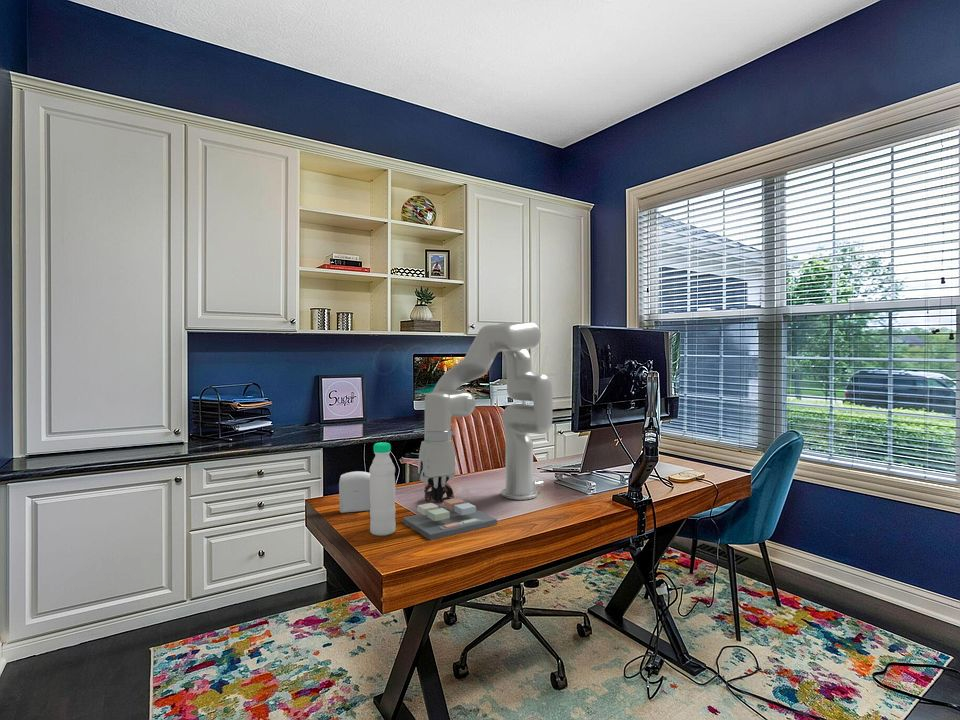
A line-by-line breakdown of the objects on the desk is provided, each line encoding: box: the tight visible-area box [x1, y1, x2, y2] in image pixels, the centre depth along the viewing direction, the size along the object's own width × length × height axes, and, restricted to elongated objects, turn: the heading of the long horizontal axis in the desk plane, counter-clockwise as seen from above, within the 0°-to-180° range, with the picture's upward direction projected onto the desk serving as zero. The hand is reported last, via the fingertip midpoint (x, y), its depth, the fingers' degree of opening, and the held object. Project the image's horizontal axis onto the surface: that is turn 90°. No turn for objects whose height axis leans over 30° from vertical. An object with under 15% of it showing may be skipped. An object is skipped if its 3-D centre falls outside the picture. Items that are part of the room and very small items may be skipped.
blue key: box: [454, 502, 477, 515], centre depth 157 cm, size 5×4×2 cm
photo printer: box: [338, 470, 371, 514], centre depth 168 cm, size 10×4×12 cm, turn 104°
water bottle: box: [369, 441, 397, 537], centre depth 149 cm, size 7×7×25 cm
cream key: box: [416, 502, 440, 515], centre depth 157 cm, size 5×4×2 cm
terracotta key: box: [443, 497, 466, 510], centre depth 162 cm, size 5×4×2 cm
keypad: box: [402, 508, 498, 541], centre depth 156 cm, size 22×17×2 cm
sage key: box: [427, 507, 450, 521], centre depth 152 cm, size 5×4×2 cm
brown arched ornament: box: [423, 481, 455, 502], centre depth 180 cm, size 12×10×8 cm
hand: (437, 500), depth 152 cm, fingers closed
